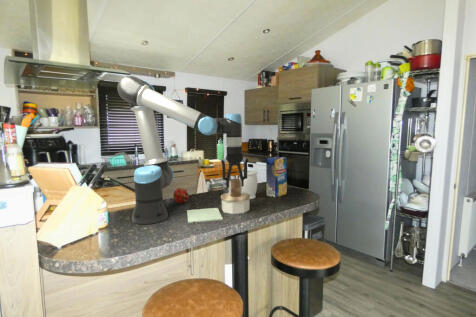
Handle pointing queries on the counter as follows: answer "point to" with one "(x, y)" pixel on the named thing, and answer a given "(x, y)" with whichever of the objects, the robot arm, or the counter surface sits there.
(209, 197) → the counter surface
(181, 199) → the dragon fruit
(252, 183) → the jar
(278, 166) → the blue food box
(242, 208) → the bowl
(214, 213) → the mat
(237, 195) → the lid
